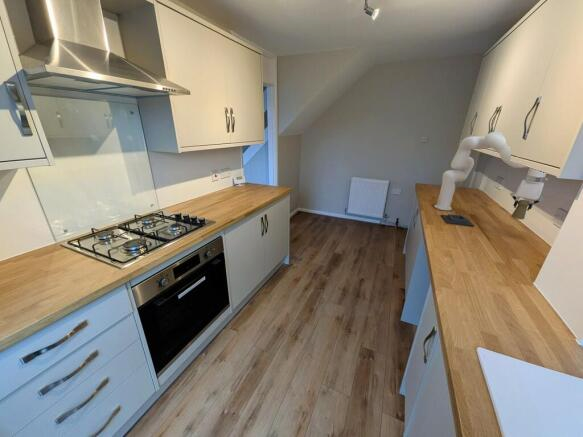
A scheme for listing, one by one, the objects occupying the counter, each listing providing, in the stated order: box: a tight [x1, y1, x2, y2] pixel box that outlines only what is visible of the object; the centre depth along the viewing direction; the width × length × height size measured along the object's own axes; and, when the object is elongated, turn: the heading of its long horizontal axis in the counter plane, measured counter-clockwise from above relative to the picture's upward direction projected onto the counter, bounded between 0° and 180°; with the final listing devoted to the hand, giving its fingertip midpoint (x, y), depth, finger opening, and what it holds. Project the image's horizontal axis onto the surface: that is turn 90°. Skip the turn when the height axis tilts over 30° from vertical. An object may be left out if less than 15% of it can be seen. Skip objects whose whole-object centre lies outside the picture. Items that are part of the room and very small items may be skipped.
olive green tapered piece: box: [510, 199, 531, 220], centre depth 143 cm, size 6×6×11 cm
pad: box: [440, 213, 474, 228], centre depth 171 cm, size 16×16×3 cm
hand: (521, 208), depth 142 cm, fingers closed on olive green tapered piece, 5 cm apart
